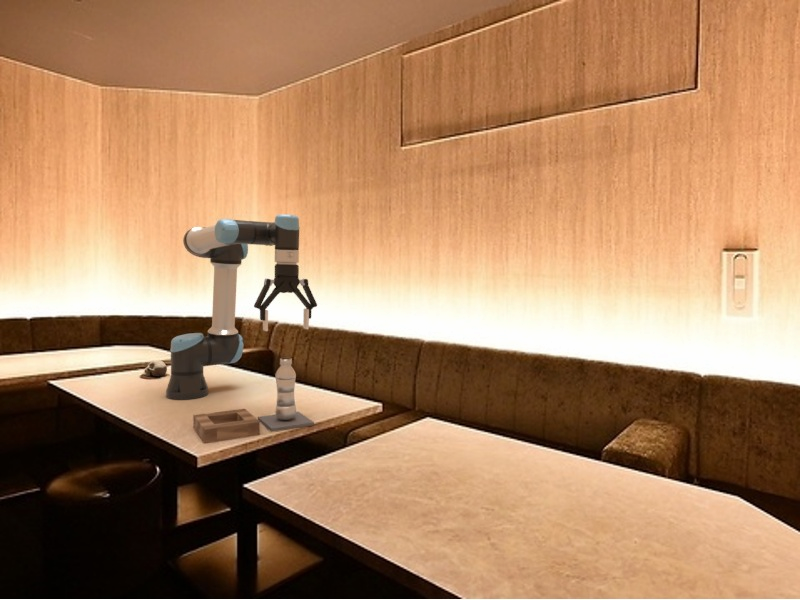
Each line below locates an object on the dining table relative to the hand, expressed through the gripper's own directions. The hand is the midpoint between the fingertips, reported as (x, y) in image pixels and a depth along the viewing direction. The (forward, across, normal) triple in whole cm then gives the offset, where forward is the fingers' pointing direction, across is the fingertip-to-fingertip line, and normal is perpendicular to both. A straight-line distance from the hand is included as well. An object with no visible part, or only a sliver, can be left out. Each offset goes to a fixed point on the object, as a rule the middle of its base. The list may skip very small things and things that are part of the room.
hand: (286, 329), depth 171 cm
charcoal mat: (+30, 0, 0) cm, 30 cm away
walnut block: (+30, -19, 0) cm, 36 cm away
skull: (+31, -27, +91) cm, 100 cm away
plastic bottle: (+30, 0, 0) cm, 30 cm away
